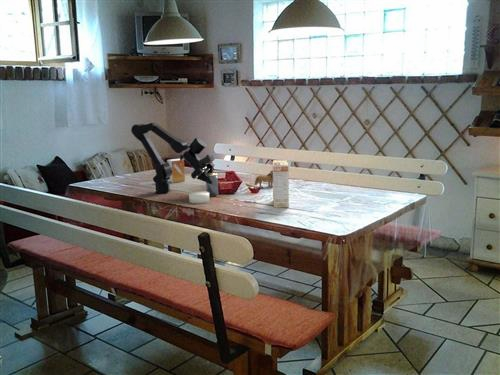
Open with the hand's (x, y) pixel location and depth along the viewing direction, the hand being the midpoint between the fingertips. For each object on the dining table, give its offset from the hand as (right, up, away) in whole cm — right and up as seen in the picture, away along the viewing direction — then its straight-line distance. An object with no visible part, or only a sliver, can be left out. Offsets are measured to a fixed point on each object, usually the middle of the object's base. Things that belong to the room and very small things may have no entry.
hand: (214, 182), depth 251 cm
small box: (-25, +1, +40) cm, 47 cm away
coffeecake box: (+33, -10, -20) cm, 39 cm away
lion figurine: (+27, -2, +19) cm, 33 cm away
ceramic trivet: (-7, -9, -10) cm, 15 cm away
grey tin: (-1, -6, +2) cm, 7 cm away
